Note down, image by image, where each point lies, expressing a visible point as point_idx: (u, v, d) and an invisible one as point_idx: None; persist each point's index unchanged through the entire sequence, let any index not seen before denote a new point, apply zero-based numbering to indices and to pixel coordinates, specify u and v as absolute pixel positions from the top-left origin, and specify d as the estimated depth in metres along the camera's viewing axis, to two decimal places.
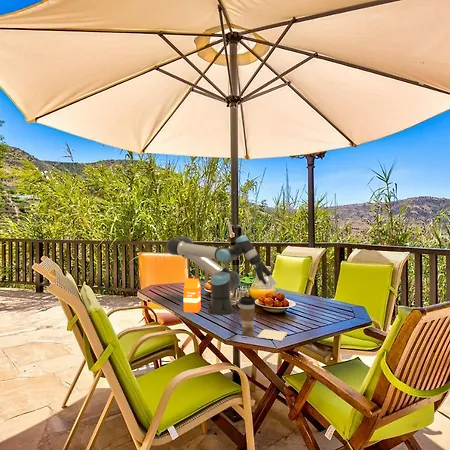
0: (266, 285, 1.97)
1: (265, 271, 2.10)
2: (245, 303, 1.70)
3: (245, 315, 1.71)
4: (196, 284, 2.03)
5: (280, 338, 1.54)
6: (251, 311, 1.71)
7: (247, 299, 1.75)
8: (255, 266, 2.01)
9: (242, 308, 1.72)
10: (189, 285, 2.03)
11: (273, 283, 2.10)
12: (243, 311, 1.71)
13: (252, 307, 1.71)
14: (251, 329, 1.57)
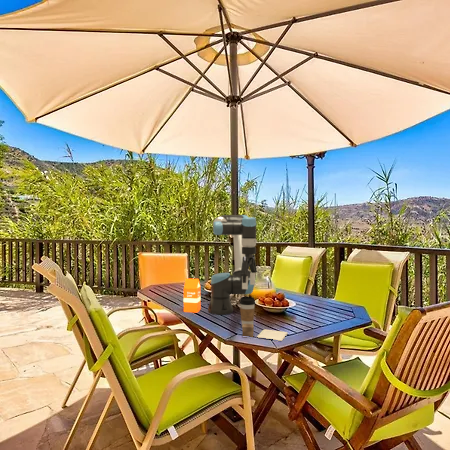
0: (244, 284, 1.68)
1: (252, 266, 1.79)
2: (245, 303, 1.70)
3: (245, 314, 1.71)
4: (196, 284, 2.03)
5: (280, 338, 1.54)
6: (251, 311, 1.71)
7: (247, 299, 1.75)
8: (245, 259, 1.68)
9: (242, 308, 1.72)
10: (189, 285, 2.03)
11: (252, 282, 1.81)
12: (243, 311, 1.71)
13: (252, 307, 1.71)
14: (251, 329, 1.57)
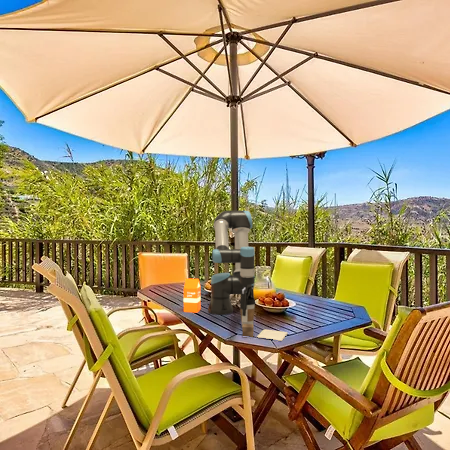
0: (243, 317, 1.70)
1: (249, 297, 1.77)
2: None
3: None
4: (196, 284, 2.03)
5: (280, 338, 1.54)
6: (251, 311, 1.71)
7: None
8: (243, 292, 1.68)
9: None
10: (189, 285, 2.03)
11: None
12: None
13: (252, 307, 1.71)
14: (251, 329, 1.57)
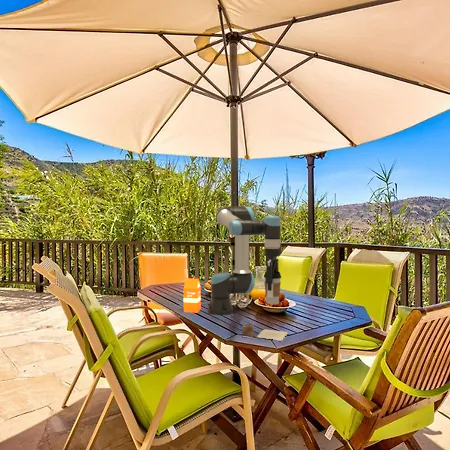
0: (269, 292, 1.55)
1: (274, 272, 1.62)
2: None
3: None
4: (196, 284, 2.03)
5: (280, 338, 1.54)
6: (277, 285, 1.56)
7: None
8: (269, 264, 1.53)
9: None
10: (189, 285, 2.03)
11: None
12: None
13: (278, 281, 1.57)
14: (251, 329, 1.57)
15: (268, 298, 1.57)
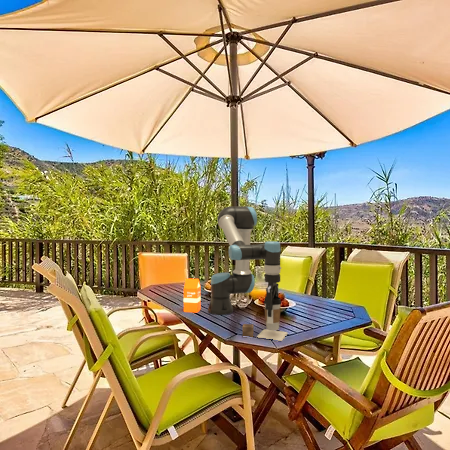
0: (269, 318, 1.55)
1: (274, 297, 1.62)
2: None
3: None
4: (196, 284, 2.03)
5: (280, 338, 1.54)
6: (277, 311, 1.56)
7: None
8: (269, 291, 1.53)
9: None
10: (189, 285, 2.03)
11: None
12: None
13: (278, 307, 1.57)
14: (251, 329, 1.57)
15: (268, 324, 1.57)
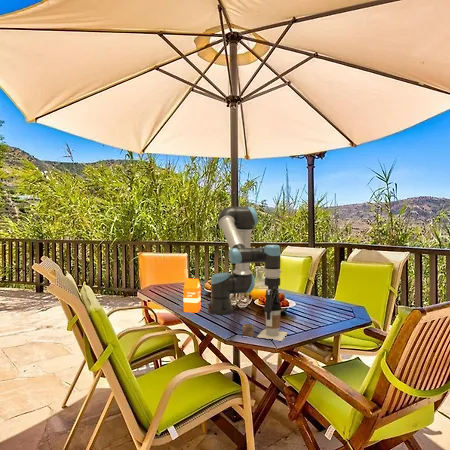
0: (268, 321, 1.54)
1: (275, 299, 1.63)
2: None
3: None
4: (196, 284, 2.03)
5: (280, 338, 1.54)
6: (277, 317, 1.57)
7: (272, 304, 1.61)
8: (269, 293, 1.53)
9: None
10: (189, 285, 2.03)
11: None
12: None
13: (278, 313, 1.57)
14: (251, 329, 1.57)
15: (268, 330, 1.58)
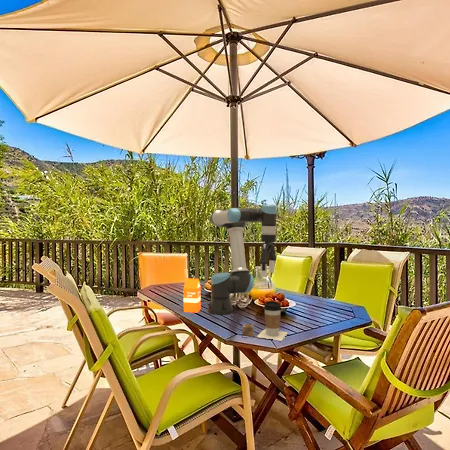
0: (263, 272, 1.67)
1: (271, 254, 1.77)
2: (271, 309, 1.56)
3: (270, 321, 1.57)
4: (196, 284, 2.03)
5: (280, 338, 1.54)
6: (277, 317, 1.57)
7: (272, 304, 1.61)
8: (265, 246, 1.66)
9: (267, 314, 1.57)
10: (189, 285, 2.03)
11: (271, 270, 1.79)
12: (268, 317, 1.57)
13: (278, 313, 1.57)
14: (251, 329, 1.57)
15: (268, 330, 1.58)
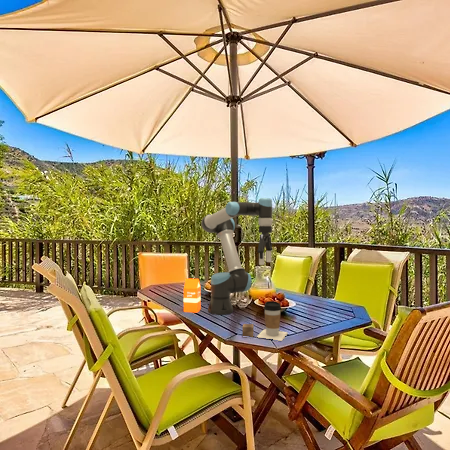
0: (261, 260, 1.80)
1: (268, 245, 1.91)
2: (271, 309, 1.56)
3: (270, 321, 1.57)
4: (196, 284, 2.03)
5: (280, 338, 1.54)
6: (277, 317, 1.57)
7: (272, 304, 1.61)
8: (262, 236, 1.80)
9: (267, 314, 1.57)
10: (189, 285, 2.03)
11: (268, 260, 1.92)
12: (268, 317, 1.57)
13: (278, 313, 1.57)
14: (251, 329, 1.57)
15: (268, 330, 1.58)
